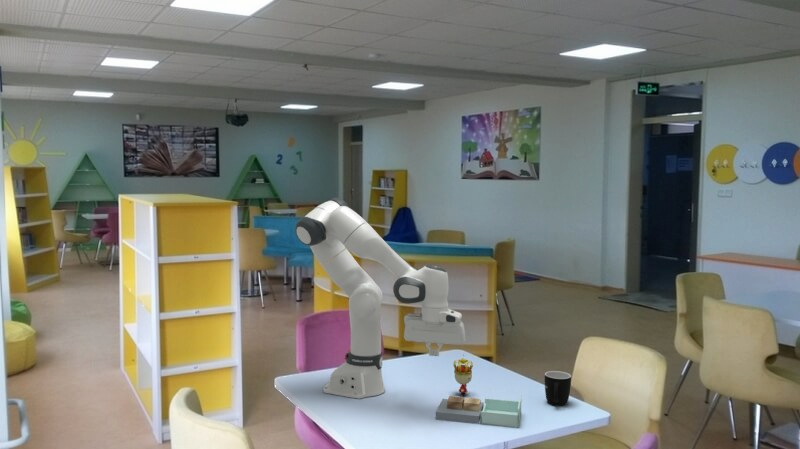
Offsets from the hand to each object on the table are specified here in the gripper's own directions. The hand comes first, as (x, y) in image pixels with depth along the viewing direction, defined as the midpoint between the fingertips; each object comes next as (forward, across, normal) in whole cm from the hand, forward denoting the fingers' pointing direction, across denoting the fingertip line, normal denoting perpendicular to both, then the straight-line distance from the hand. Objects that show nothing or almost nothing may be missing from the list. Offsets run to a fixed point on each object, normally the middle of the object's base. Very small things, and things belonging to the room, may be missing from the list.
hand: (434, 355), depth 214 cm
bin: (+19, +22, 0) cm, 30 cm away
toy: (+19, +7, +20) cm, 28 cm away
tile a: (+17, +13, 0) cm, 21 cm away
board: (+19, +9, 0) cm, 21 cm away
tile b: (+17, +8, 0) cm, 18 cm away
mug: (+19, +40, +18) cm, 48 cm away
